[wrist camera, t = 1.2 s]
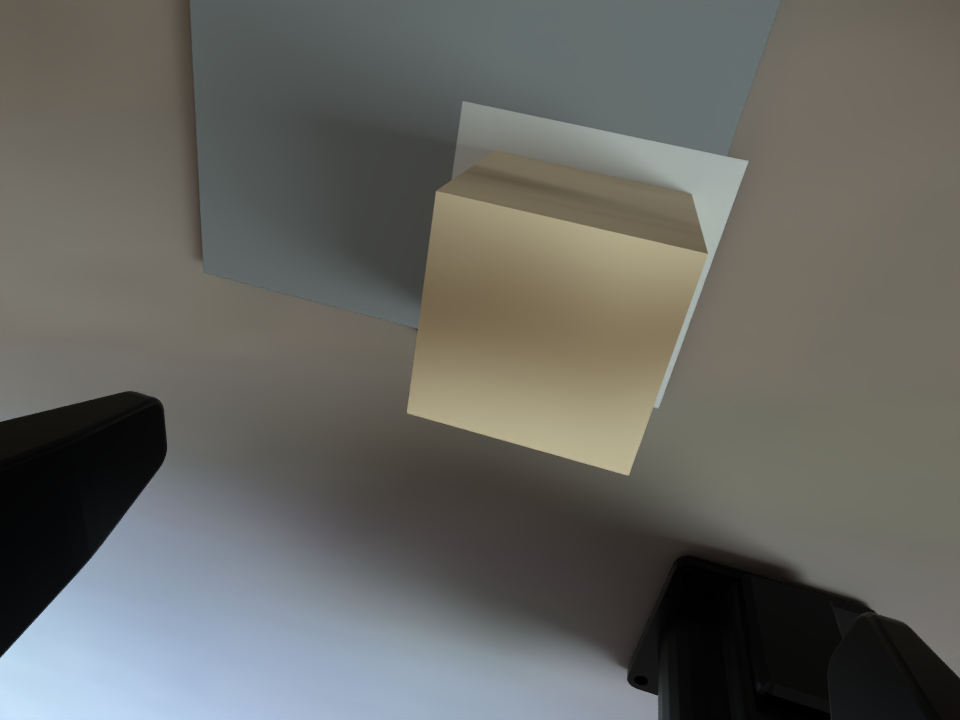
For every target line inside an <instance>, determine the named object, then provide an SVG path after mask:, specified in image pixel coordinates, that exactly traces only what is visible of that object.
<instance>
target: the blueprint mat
mask: <svg viewBox="0 0 960 720" xmlns="http://www.w3.org/2000/svg"><path fill="white" fill-rule="evenodd" d="M780 2H781V0H190V19H191V39H192V58H193V78H194V97H195V117H196V136H197V156H198V175H199V195H200V215H201V234H202V254H203V273H207V274H211V275H215V276H219V277H222V278H226V279H230V280H234V281H238V282H241V283H245V284H249V285H253V286H257V287H260V288H264V289H268V290H272V291H276V292H279V293H283V294H287V295H291V296H295V297H298V298H302V299H306V300H310V301H314V302H317V303H321V304H325V305H329V306H333V307H337V308H340V309H344V310H348V311H352V312H356V313H359V314H363V315H367V316H371V317H375V318H378V319H382V320H386V321H390V322H394V323H397V324H401V325H405V326H409V327H413V328H416V329H418V325H419V317H420V309H421V302H422V294H423V287H424V279H425V271H426V264H427V256H428V249H429V241H430V233H431V226H432V218H433V210H434V203H435V195H436V191H437V190H438V189H440V188H441V187H442V186H444V185H445V184H447V183H448V182H450V181H451V180H453V179H454V178H456V177H457V176H458V175H460V174H461V173H463V172H464V171H466V170H467V169H469V168H470V167H471V166H473V165H474V164H476V163H477V162H479V161H480V160H482V159H483V158H484V157H486V156H487V155H489V154H490V153H492V152H493V151H498V152H503V153H507V154H512V155H516V156H521V157H525V158H530V159H534V160H539V161H544V162H548V163H553V164H557V165H562V166H566V167H571V168H575V169H580V170H585V171H589V172H594V173H598V174H603V175H607V176H612V177H616V178H621V179H625V180H630V181H635V182H639V183H644V184H648V185H653V186H657V187H662V188H666V189H671V190H676V191H680V192H685V193H689V194H692V197H693V201H694V204H695V208H696V212H697V215H698V219H699V222H700V226H701V230H702V233H703V237H704V241H705V244H706V248H707V251H708V256H707V259H706V261H705V264H704V267H703V270H702V273H701V275H700V278H699V281H698V284H697V286H696V289H695V292H694V295H693V298H692V300H691V303H690V306H689V309H688V312H687V314H686V317H685V320H684V323H683V325H682V328H681V331H680V334H679V337H678V339H677V342H676V345H675V348H674V351H673V353H672V356H671V359H670V362H669V365H668V367H667V370H666V373H665V376H664V378H663V381H662V384H661V387H660V390H659V392H658V395H657V398H656V401H655V404H654V406H653V407H656V408H659V406H660V403H661V400H662V398H663V395H664V392H665V389H666V387H667V384H668V381H669V378H670V376H671V373H672V370H673V367H674V365H675V362H676V359H677V356H678V354H679V351H680V348H681V345H682V343H683V340H684V337H685V334H686V332H687V329H688V326H689V323H690V321H691V318H692V315H693V312H694V310H695V307H696V304H697V301H698V299H699V296H700V293H701V290H702V288H703V285H704V282H705V279H706V277H707V274H708V271H709V268H710V266H711V263H712V260H713V257H714V255H715V252H716V249H717V246H718V244H719V241H720V238H721V235H722V233H723V230H724V227H725V224H726V222H727V219H728V216H729V213H730V211H731V208H732V205H733V202H734V200H735V197H736V194H737V191H738V189H739V186H740V183H741V180H742V178H743V175H744V172H745V169H746V167H747V164H748V160H743V159H738V158H734V157H729V156H727V155H728V152H729V149H730V146H731V143H732V140H733V137H734V135H735V132H736V129H737V126H738V123H739V120H740V117H741V114H742V111H743V109H744V106H745V103H746V100H747V97H748V94H749V91H750V88H751V85H752V83H753V80H754V77H755V74H756V71H757V68H758V65H759V62H760V59H761V57H762V54H763V51H764V48H765V45H766V42H767V39H768V36H769V33H770V31H771V28H772V25H773V22H774V19H775V16H776V13H777V10H778V8H779V5H780Z"/></svg>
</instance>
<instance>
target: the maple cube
mask: <svg viewBox="0 0 960 720" xmlns="http://www.w3.org/2000/svg"><path fill="white" fill-rule="evenodd" d="M707 256H708V251H707V248H706V244H705V241H704V237H703V233H702V230H701V226H700V222H699V219H698V215H697V212H696V208H695V204H694V201H693V197H692V194H689V193H685V192H680V191H676V190H671V189H666V188H662V187H657V186H653V185H648V184H644V183H639V182H635V181H630V180H625V179H621V178H616V177H612V176H607V175H603V174H598V173H594V172H589V171H585V170H580V169H575V168H571V167H566V166H562V165H557V164H553V163H548V162H544V161H539V160H534V159H530V158H525V157H521V156H516V155H512V154H507V153H503V152H498V151H493V152H492V153H490V154H489V155H487V156H486V157H484V158H483V159H482V160H480V161H479V162H477V163H476V164H474V165H473V166H471V167H470V168H469V169H467V170H466V171H464V172H463V173H461V174H460V175H458V176H457V177H456V178H454V179H453V180H451V181H450V182H448V183H447V184H445V185H444V186H442V187H441V188H440V189H438V190H437V191H436V195H435V203H434V210H433V218H432V226H431V233H430V241H429V249H428V256H427V264H426V271H425V279H424V287H423V294H422V302H421V309H420V317H419V325H418V332H417V340H416V347H415V355H414V363H413V370H412V378H411V386H410V393H409V401H408V408H407V413H408V414H412V415H415V416H419V417H422V418H426V419H429V420H433V421H436V422H440V423H443V424H447V425H451V426H454V427H458V428H461V429H465V430H468V431H472V432H475V433H479V434H482V435H486V436H490V437H493V438H497V439H500V440H504V441H507V442H511V443H514V444H518V445H521V446H525V447H529V448H532V449H536V450H539V451H543V452H546V453H550V454H553V455H557V456H560V457H564V458H568V459H571V460H575V461H578V462H582V463H585V464H589V465H592V466H596V467H599V468H603V469H607V470H610V471H614V472H617V473H621V474H624V475H628V476H629V473H630V471H631V468H632V465H633V462H634V459H635V457H636V454H637V451H638V448H639V445H640V443H641V440H642V437H643V434H644V431H645V429H646V426H647V423H648V420H649V418H650V415H651V412H652V409H653V406H654V404H655V401H656V398H657V395H658V392H659V390H660V387H661V384H662V381H663V378H664V376H665V373H666V370H667V367H668V365H669V362H670V359H671V356H672V353H673V351H674V348H675V345H676V342H677V339H678V337H679V334H680V331H681V328H682V325H683V323H684V320H685V317H686V314H687V312H688V309H689V306H690V303H691V300H692V298H693V295H694V292H695V289H696V286H697V284H698V281H699V278H700V275H701V273H702V270H703V267H704V264H705V261H706V259H707Z"/></svg>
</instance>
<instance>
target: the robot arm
mask: <svg viewBox="0 0 960 720" xmlns="http://www.w3.org/2000/svg"><path fill="white" fill-rule="evenodd" d="M166 452H167V439H166V428H165V417H164V408H163V405H162V403H161V402H160V400H158V399H157V398H155V397H151V396H148V395H145V394H141V393H138V392H133V391H127V392H122V393H118V394H114V395H110V396H106V397H102V398H97V399H93V400H89V401H85V402H81V403H77V404H73V405H68V406H64V407H60V408H56V409H52V410H48V411H44V412H39V413H35V414H31V415H27V416H23V417H19V418H15V419H10V420H6V421H2V422H0V658H1V657H2V655H3V654H4V653H5V652H6V651H7V650H8V649H9V648H10V647H11V646H12V645H13V643H14V642H15V641H16V640H17V639H18V638H19V637H20V636H21V635H22V634H23V633H24V631H25V630H26V629H27V628H28V627H29V626H30V625H31V624H32V623H33V622H34V621H35V619H36V618H37V617H38V616H39V615H40V614H41V613H42V612H43V611H44V610H45V609H46V607H47V606H48V605H49V604H50V603H51V602H52V601H53V600H54V599H55V598H56V597H57V595H58V594H59V593H60V592H61V591H62V590H63V589H64V588H65V587H66V586H67V585H68V583H69V582H70V581H71V580H72V579H73V578H74V577H75V576H76V575H77V574H78V572H79V571H80V570H81V569H82V568H83V567H84V566H85V564H86V563H87V562H88V561H89V560H90V559H91V558H92V556H93V555H94V554H95V552H96V551H97V550H98V549H99V548H100V546H101V545H102V544H103V543H104V541H105V540H106V539H107V537H108V536H109V535H110V533H111V532H112V531H113V529H114V528H115V527H116V525H117V524H118V523H119V521H120V520H121V519H122V517H123V516H124V515H125V513H126V512H127V511H128V509H129V508H130V507H131V505H132V504H133V503H134V501H135V500H136V499H137V497H138V496H139V495H140V493H141V492H142V491H143V489H144V488H145V487H146V486H147V484H148V483H149V482H150V480H151V479H152V478H153V476H154V475H155V474H156V472H157V471H158V470H159V468H160V467H161V465H162V463H163V461H164V459H165V456H166ZM687 570H691V571H694V572H693V573H686V572H684V571H687ZM627 680H628V682H629V684H630V685H631V686H632V687H635V688H637V689H639V690H643V691H646V692H649V693H652V694H655V695H658V720H960V678H959V677H958V676H957V675H956V674H955V673H954V672H953V671H952V670H951V669H950V668H949V667H948V666H947V665H946V664H945V663H944V662H943V661H942V660H941V659H940V658H939V657H938V656H937V655H936V654H935V653H934V652H933V650H932V649H931V648H930V647H929V646H928V645H927V644H926V643H925V642H924V641H923V640H922V639H921V638H920V637H919V636H918V635H917V634H916V633H915V632H914V631H913V630H912V629H911V628H910V627H909V626H908V625H906V624H905V623H903V622H901V621H898V620H895V619H892V618H889V617H885V616H882V615H879V614H877V613H876V612H875V611H874V610H871V609H869V608H866V607H863V606H860V605H856V604H853V603H849V602H846V601H843V600H839V599H836V598H833V597H829V596H826V595H822V594H819V593H816V592H812V591H809V590H805V589H802V588H799V587H795V586H792V585H788V584H785V583H782V582H778V581H775V580H772V579H768V578H765V577H761V576H758V575H755V574H751V573H748V572H744V571H741V570H738V569H734V568H731V567H728V566H724V565H721V564H717V563H714V562H711V561H707V560H704V559H700V558H697V557H693V556H682V557H680V558H678V559H677V560H676V561H675V562H674V564H673V566H672V568H671V571H670V573H669V575H668V577H667V580H666V582H665V584H664V586H663V589H662V591H661V593H660V595H659V598H658V600H657V602H656V605H655V607H654V609H653V611H652V614H651V616H650V618H649V620H648V623H647V625H646V627H645V629H644V632H643V634H642V636H641V639H640V641H639V643H638V645H637V648H636V650H635V652H634V654H633V657H632V659H631V661H630V663H629V666H628V674H627Z"/></svg>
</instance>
